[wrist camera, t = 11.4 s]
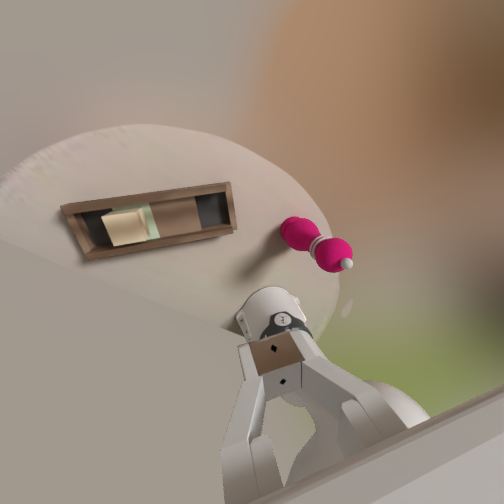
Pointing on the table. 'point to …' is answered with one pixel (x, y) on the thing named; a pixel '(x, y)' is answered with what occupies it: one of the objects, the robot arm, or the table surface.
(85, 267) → the table surface
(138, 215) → the maple block
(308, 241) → the pepper mill
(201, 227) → the tray
